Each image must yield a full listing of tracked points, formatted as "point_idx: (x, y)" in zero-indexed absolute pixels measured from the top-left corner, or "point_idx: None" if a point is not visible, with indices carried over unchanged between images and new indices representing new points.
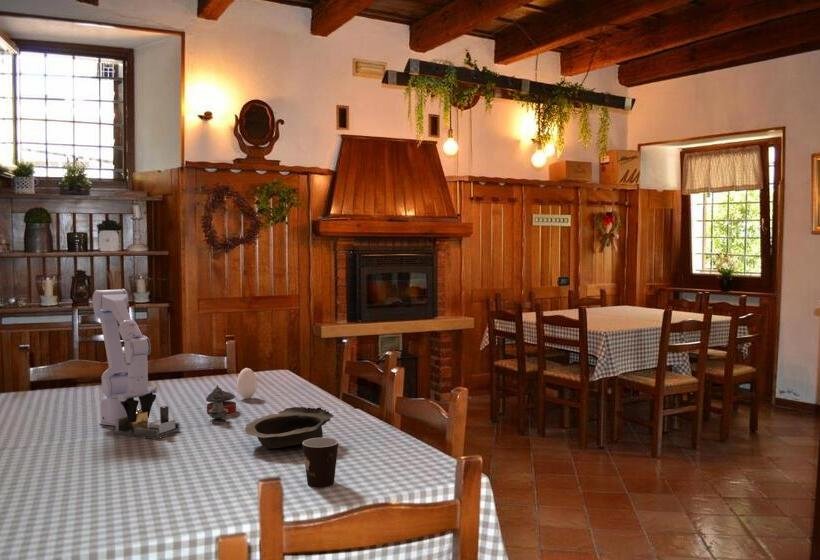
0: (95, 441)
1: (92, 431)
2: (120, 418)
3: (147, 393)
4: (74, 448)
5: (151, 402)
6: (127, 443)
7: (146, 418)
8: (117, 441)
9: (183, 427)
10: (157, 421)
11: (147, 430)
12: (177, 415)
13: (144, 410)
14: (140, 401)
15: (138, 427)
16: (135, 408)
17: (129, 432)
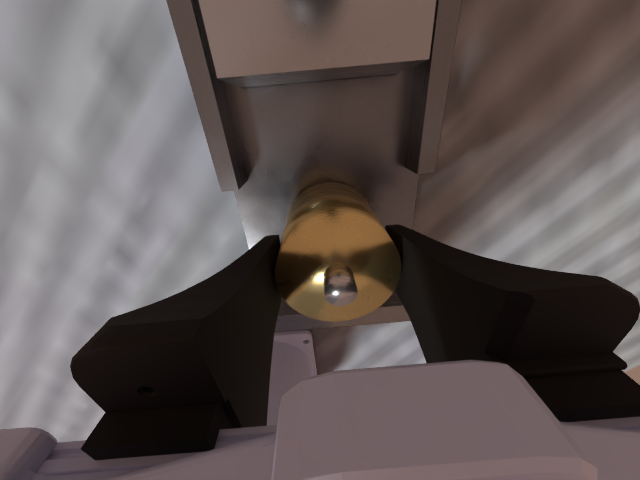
0: (523, 251)
1: (394, 352)
2: (401, 315)
3: (464, 368)
4: (635, 238)
5: (216, 288)
6: (559, 71)
7: (318, 204)
8: (517, 164)
9: (106, 37)
10: (343, 31)
11: (451, 35)
12: (29, 290)
13: (273, 287)
14: (268, 378)
15: (420, 156)
16: (462, 259)
17: (415, 202)
